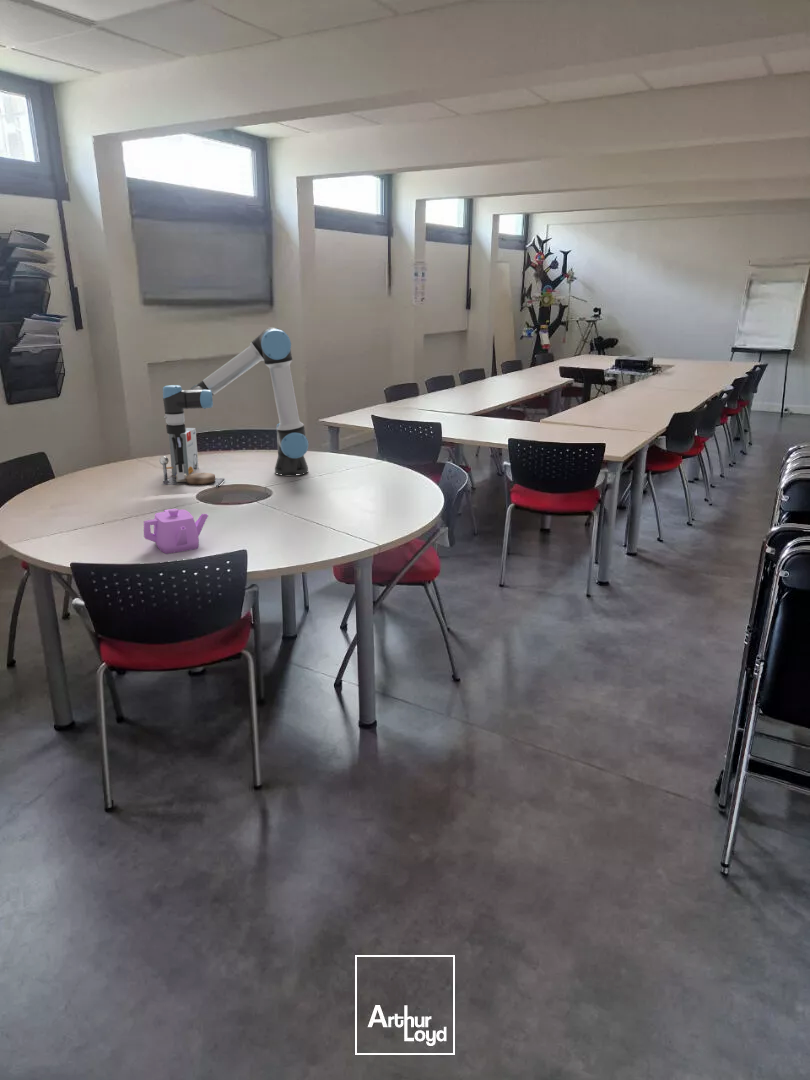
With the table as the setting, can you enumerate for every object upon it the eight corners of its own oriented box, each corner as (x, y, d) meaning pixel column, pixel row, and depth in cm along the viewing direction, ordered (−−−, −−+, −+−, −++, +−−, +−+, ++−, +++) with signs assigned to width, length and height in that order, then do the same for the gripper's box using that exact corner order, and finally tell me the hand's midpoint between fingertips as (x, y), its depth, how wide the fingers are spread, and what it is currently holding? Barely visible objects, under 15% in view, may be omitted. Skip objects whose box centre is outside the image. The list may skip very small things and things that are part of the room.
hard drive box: (189, 478, 312) (184, 434, 305) (171, 478, 312) (167, 433, 305) (199, 470, 326) (195, 427, 320) (183, 469, 327) (178, 427, 320)
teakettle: (167, 535, 242) (164, 500, 238) (213, 539, 238) (210, 504, 234) (139, 551, 227) (134, 515, 222) (187, 556, 223) (183, 519, 219)
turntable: (217, 476, 308) (216, 470, 307) (213, 484, 297) (212, 477, 296) (179, 477, 307) (179, 470, 306) (174, 484, 295) (173, 477, 294)
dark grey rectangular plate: (224, 481, 308) (224, 478, 308) (217, 488, 297) (217, 485, 296) (171, 480, 308) (170, 477, 308) (161, 487, 297) (161, 484, 297)
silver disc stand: (161, 482, 299) (159, 457, 296) (161, 481, 301) (159, 456, 298) (174, 481, 301) (171, 456, 297) (174, 480, 303) (171, 455, 299)
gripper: (163, 421, 295) (169, 476, 303) (168, 426, 284) (174, 483, 292) (182, 420, 298) (187, 475, 306) (187, 425, 287) (192, 481, 295)
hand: (181, 479), depth 299 cm, fingers closed
